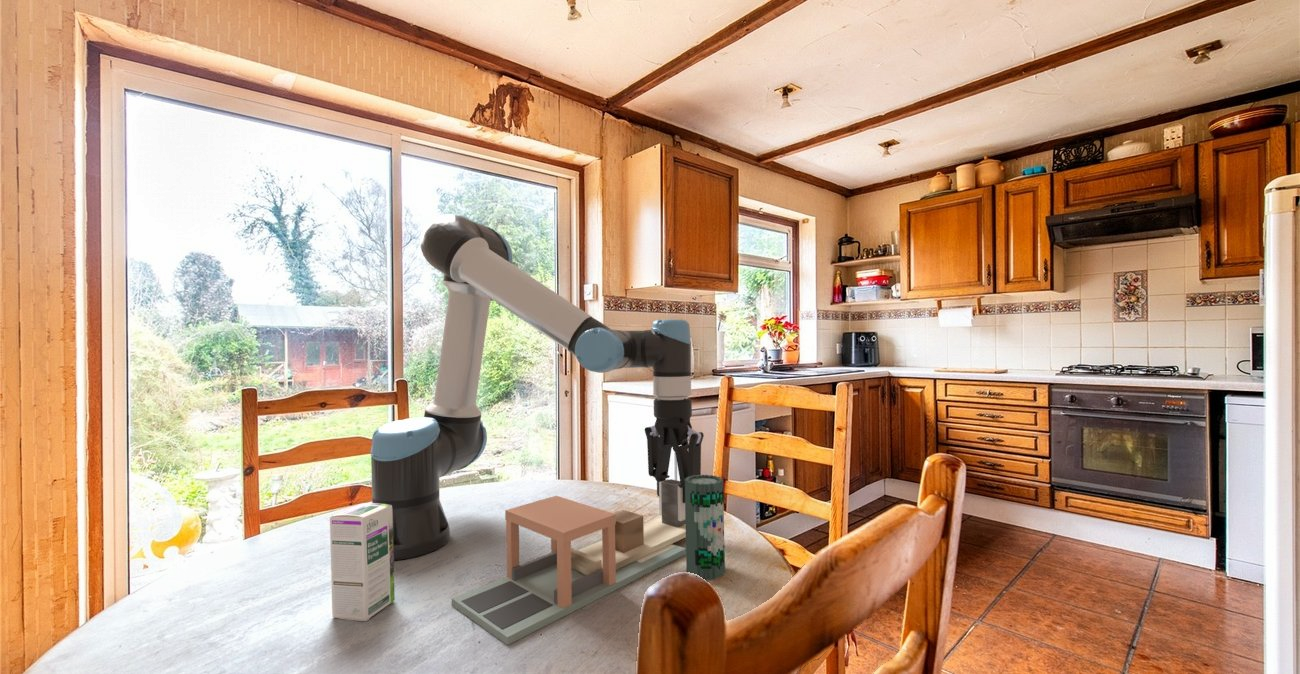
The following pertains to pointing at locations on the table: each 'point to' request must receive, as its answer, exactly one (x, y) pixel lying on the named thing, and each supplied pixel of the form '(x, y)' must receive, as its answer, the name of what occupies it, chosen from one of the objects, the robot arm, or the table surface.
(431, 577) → the table surface
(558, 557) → the track
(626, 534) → the block
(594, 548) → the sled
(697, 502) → the can
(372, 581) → the syrup box
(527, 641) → the table surface
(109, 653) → the table surface
